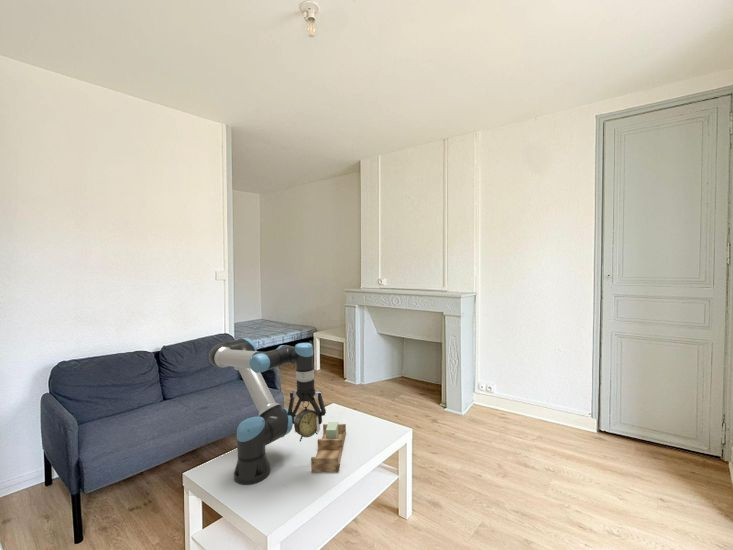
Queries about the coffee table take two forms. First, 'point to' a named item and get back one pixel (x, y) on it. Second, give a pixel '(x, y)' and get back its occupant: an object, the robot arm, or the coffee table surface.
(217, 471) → the coffee table surface
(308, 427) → the alarm clock
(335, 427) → the sage block
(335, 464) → the wooden rack
